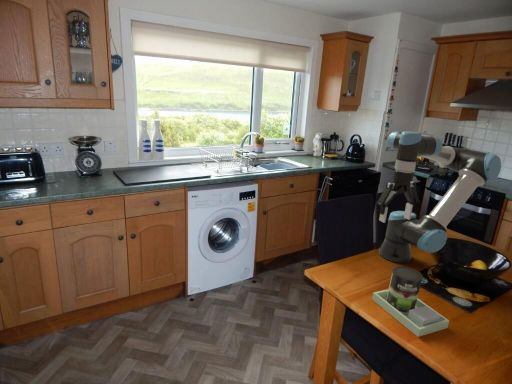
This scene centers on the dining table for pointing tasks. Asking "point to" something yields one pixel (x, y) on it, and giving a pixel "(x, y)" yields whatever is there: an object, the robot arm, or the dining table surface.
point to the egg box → (423, 316)
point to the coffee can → (404, 288)
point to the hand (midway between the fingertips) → (394, 220)
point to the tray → (403, 318)
